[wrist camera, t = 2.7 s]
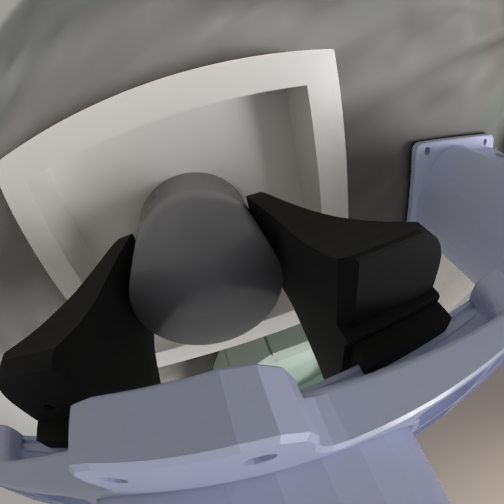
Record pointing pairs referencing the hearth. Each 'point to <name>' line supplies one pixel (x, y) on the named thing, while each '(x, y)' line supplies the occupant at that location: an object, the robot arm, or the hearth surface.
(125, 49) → the hearth surface
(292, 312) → the parts tray
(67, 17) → the hearth surface
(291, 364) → the sage bowl
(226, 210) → the grey short cylinder
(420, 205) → the robot arm
